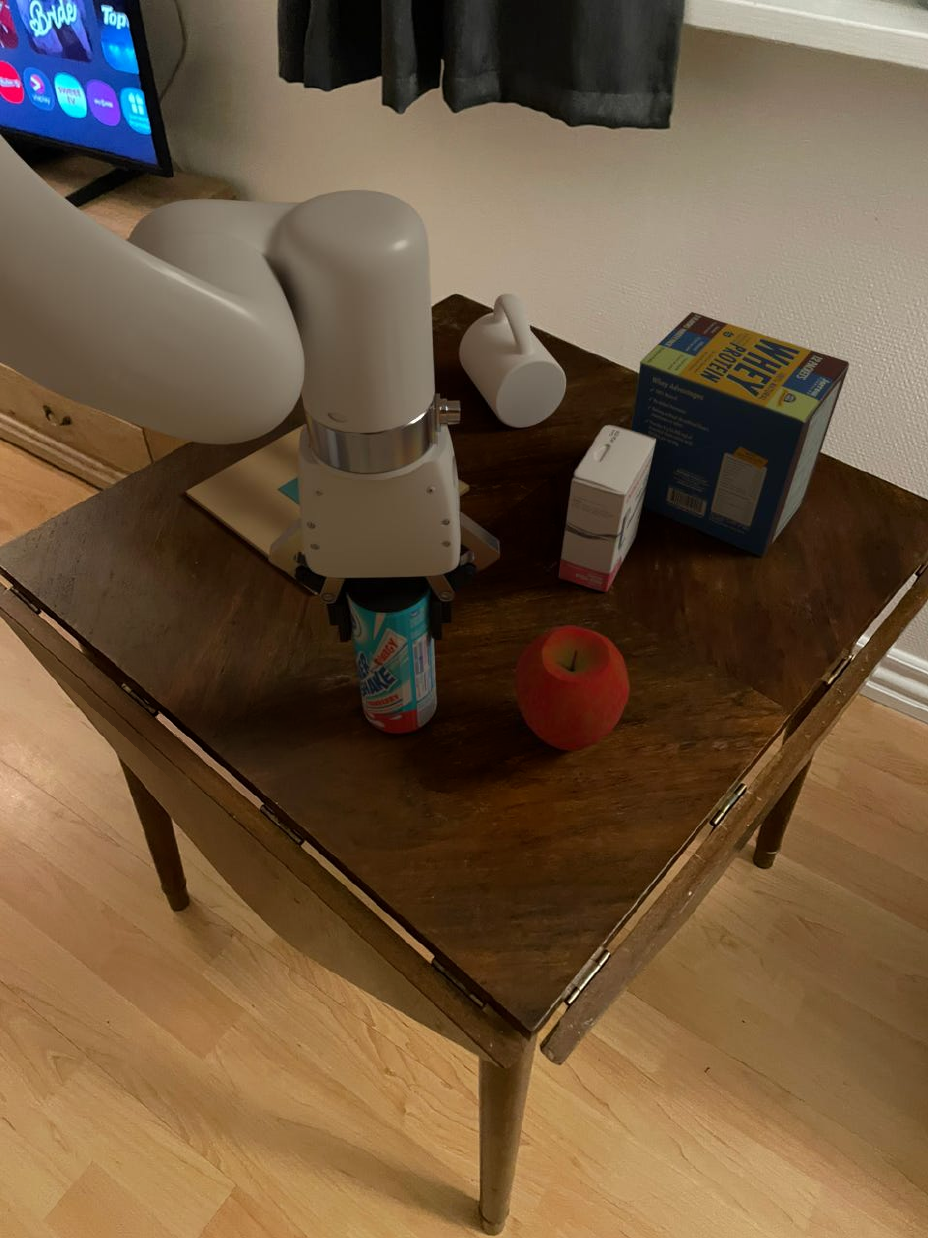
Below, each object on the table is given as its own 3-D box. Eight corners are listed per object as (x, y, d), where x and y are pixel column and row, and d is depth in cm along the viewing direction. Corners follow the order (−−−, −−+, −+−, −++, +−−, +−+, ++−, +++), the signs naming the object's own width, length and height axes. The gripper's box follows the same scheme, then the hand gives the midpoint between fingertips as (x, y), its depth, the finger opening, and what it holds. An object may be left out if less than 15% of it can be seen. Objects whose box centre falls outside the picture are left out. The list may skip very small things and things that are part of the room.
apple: (490, 722, 74) (491, 632, 66) (576, 677, 77) (587, 586, 69) (552, 802, 69) (562, 715, 61) (642, 751, 72) (662, 662, 64)
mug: (493, 436, 99) (495, 335, 90) (458, 384, 105) (457, 285, 97) (564, 419, 101) (572, 318, 92) (525, 369, 107) (530, 270, 99)
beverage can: (357, 688, 76) (337, 556, 65) (428, 673, 77) (420, 541, 66) (371, 746, 73) (352, 617, 61) (444, 730, 74) (439, 600, 62)
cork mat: (315, 595, 84) (314, 589, 83) (186, 495, 93) (185, 490, 92) (469, 490, 93) (469, 484, 93) (338, 409, 103) (337, 404, 102)
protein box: (665, 444, 98) (690, 309, 86) (806, 499, 92) (853, 361, 80) (616, 498, 92) (636, 360, 81) (763, 560, 86) (807, 421, 75)
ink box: (609, 596, 83) (625, 494, 74) (556, 579, 85) (566, 477, 76) (640, 536, 88) (658, 434, 80) (589, 521, 90) (602, 419, 81)
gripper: (515, 381, 57) (508, 587, 70) (233, 387, 57) (279, 591, 70) (523, 458, 52) (513, 664, 65) (213, 464, 52) (267, 669, 65)
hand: (392, 625), depth 67 cm, fingers closed on beverage can, 5 cm apart
